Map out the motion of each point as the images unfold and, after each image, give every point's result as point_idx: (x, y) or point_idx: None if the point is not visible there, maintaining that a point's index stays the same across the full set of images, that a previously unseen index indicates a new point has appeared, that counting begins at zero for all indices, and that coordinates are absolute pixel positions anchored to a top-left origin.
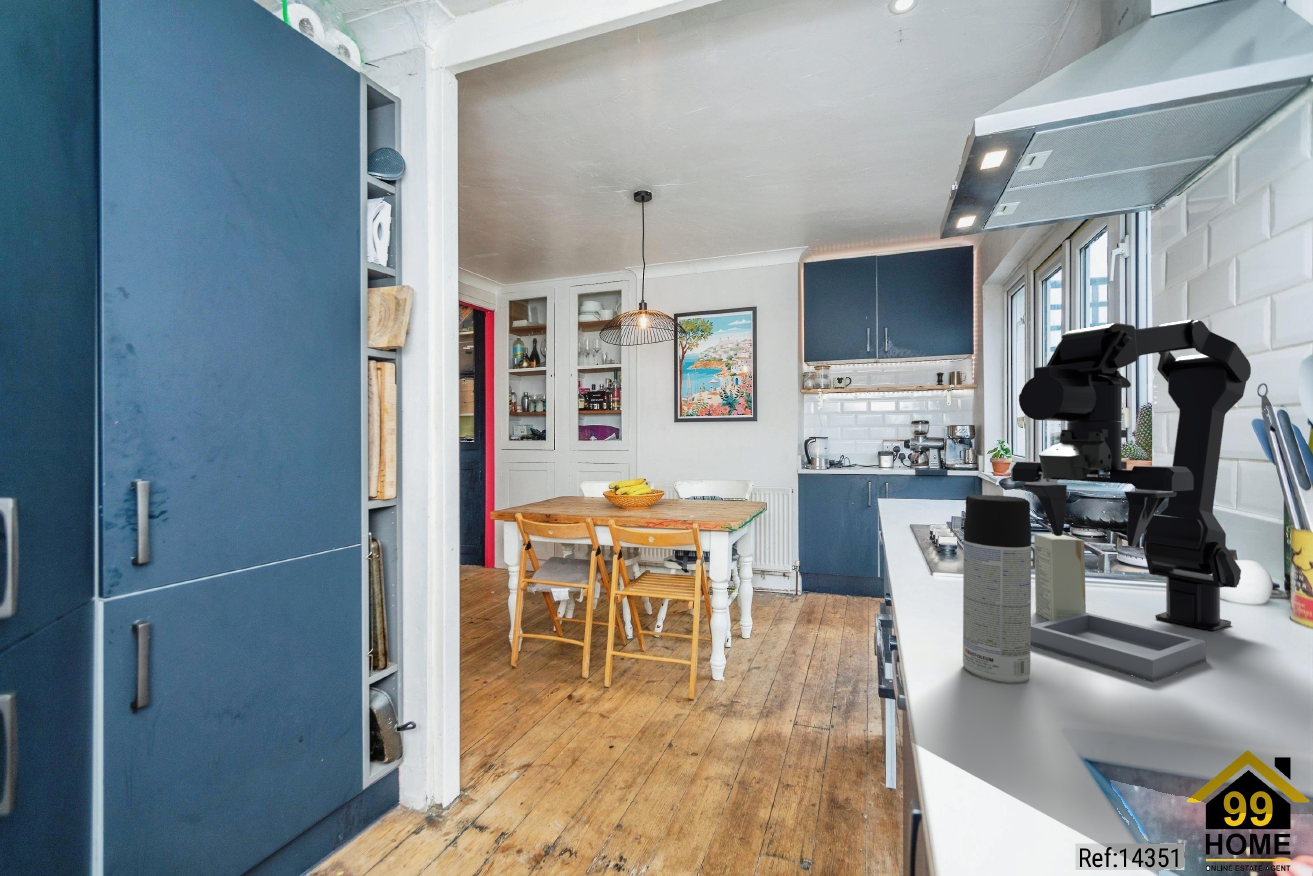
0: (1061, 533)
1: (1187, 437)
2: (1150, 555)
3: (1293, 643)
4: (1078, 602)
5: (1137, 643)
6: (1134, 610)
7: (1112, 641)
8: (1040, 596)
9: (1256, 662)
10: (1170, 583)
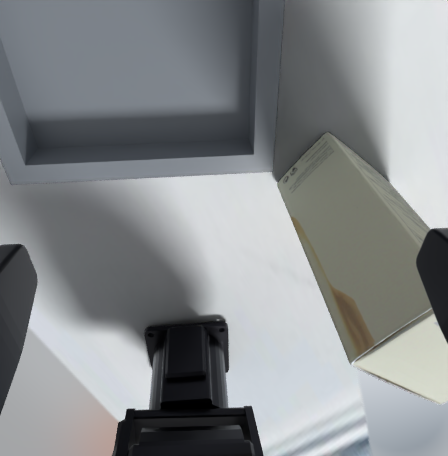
0: (422, 267)
1: None
2: (240, 440)
3: (72, 362)
4: (300, 201)
5: (134, 130)
6: (271, 339)
7: (166, 88)
8: (394, 192)
9: (11, 240)
10: (206, 390)
